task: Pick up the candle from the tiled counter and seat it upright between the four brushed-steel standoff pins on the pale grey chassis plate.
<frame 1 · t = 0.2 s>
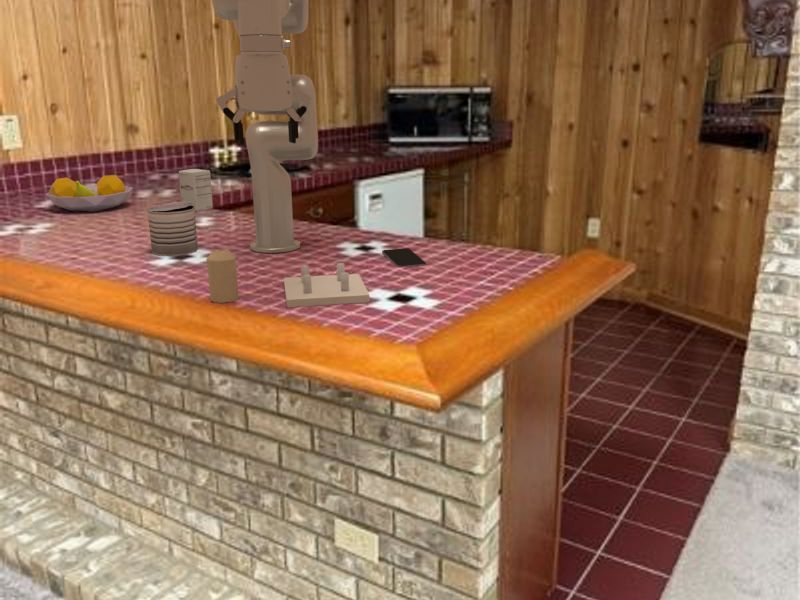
hand: (267, 143, 139), 30 cm above the countertop, fingers open, 9 cm apart
fruit bowl: (91, 209, 247), on the countertop
can: (175, 251, 188), on the countertop
smartphone: (403, 261, 179), on the countertop
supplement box: (197, 209, 245), on the countertop
candle: (224, 300, 148), on the countertop
chassis plate: (325, 293, 151), on the countertop
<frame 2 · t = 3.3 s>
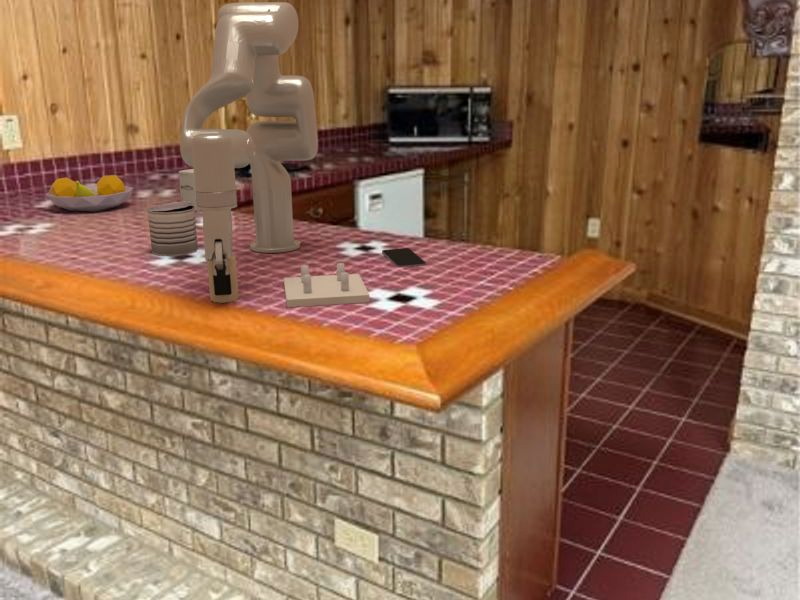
hand: (223, 289, 147), 2 cm above the countertop, fingers closed on candle, 5 cm apart
candle: (224, 300, 148), on the countertop, touching gripper
everything else where it was.
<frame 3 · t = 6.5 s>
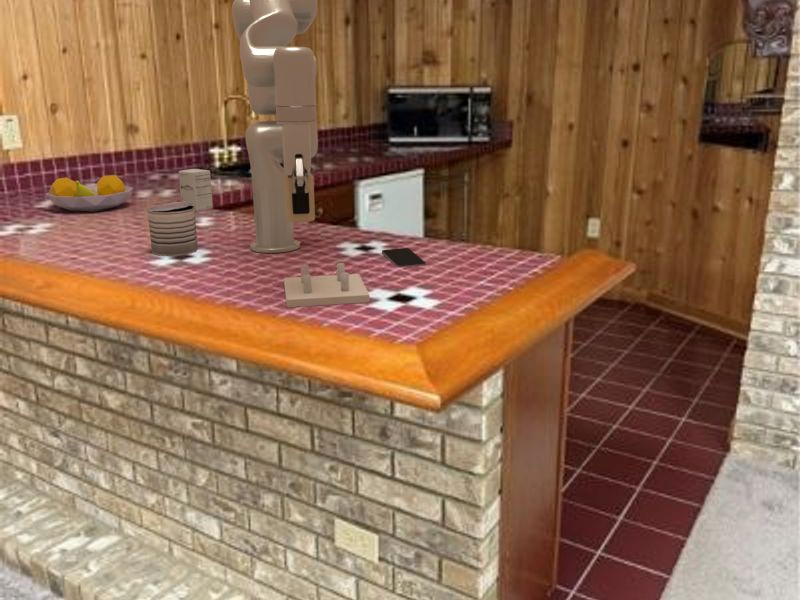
hand: (300, 209, 145), 17 cm above the countertop, fingers closed on candle, 5 cm apart
candle: (301, 220, 146), point 15 cm above the countertop, touching gripper
everything else where it was.
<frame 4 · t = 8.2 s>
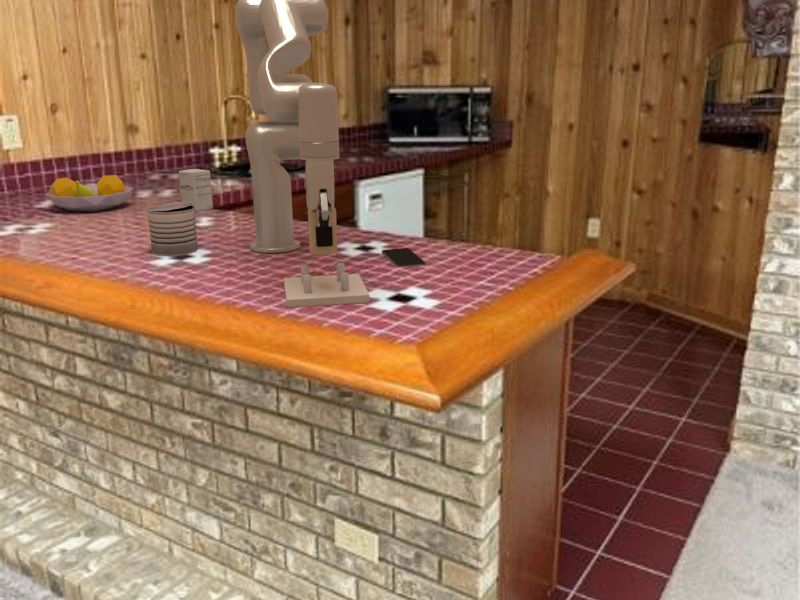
hand: (323, 242, 148), 11 cm above the countertop, fingers closed on candle, 5 cm apart
candle: (323, 252, 149), point 8 cm above the countertop, touching gripper
everything else where it was.
when the fingers open (5 cm above the countertop, at t = 9.7 s): candle drops 1 cm, resting on chassis plate.
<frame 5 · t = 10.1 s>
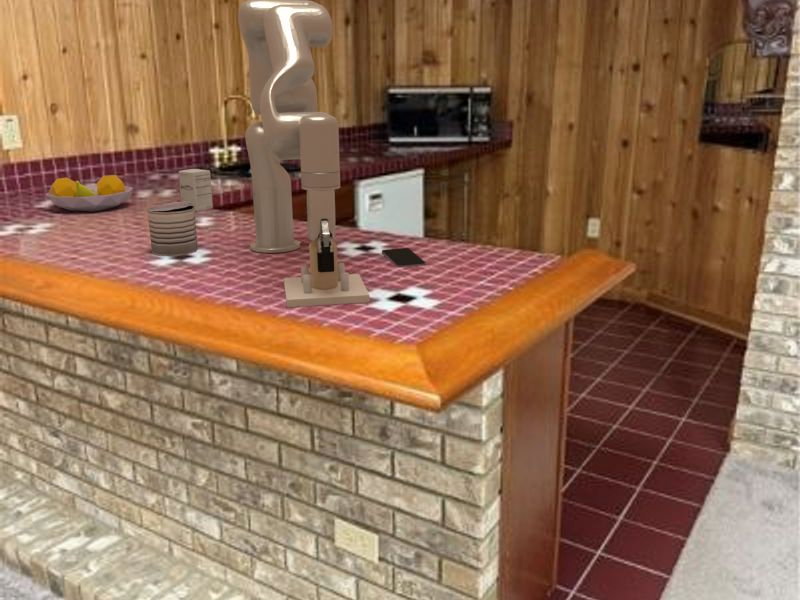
hand: (324, 265, 150), 6 cm above the countertop, fingers open, 9 cm apart
candle: (324, 286, 151), point 1 cm above the countertop, touching chassis plate
everything else where it was.
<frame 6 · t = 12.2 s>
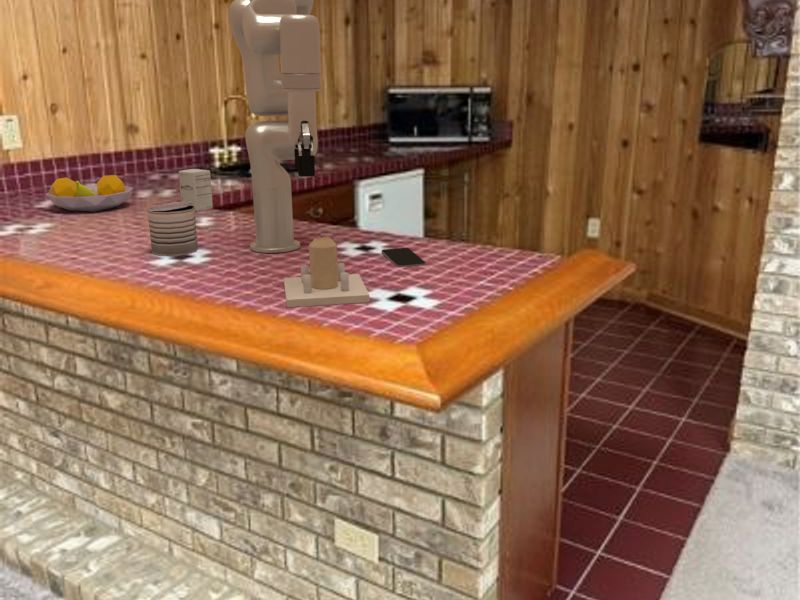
hand: (304, 172, 148), 24 cm above the countertop, fingers open, 9 cm apart
nothing on the countertop moved.
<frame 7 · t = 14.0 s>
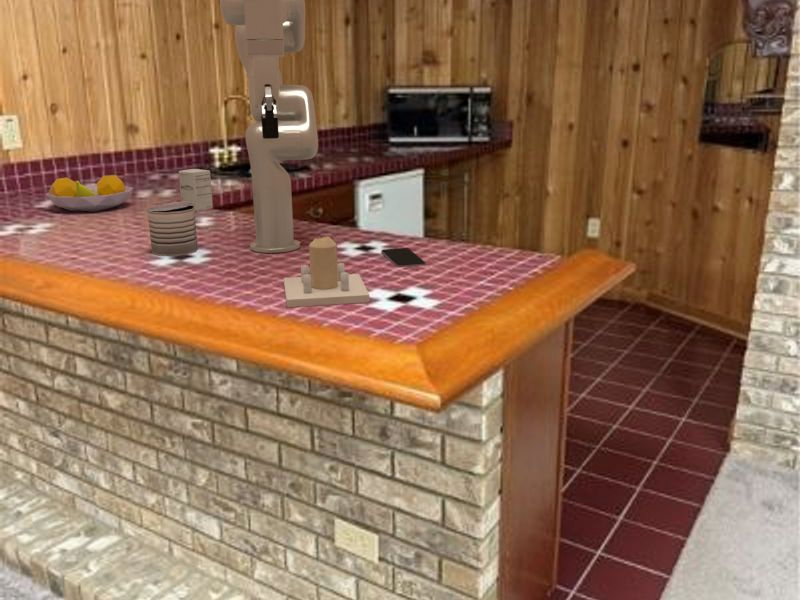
hand: (270, 136, 155), 30 cm above the countertop, fingers open, 9 cm apart
nothing on the countertop moved.
at the end: candle 0.3 cm off-centre on the chassis plate, point 1.3 cm above the chassis plate's base; candle tilted 0°; the gripper is holding nothing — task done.
